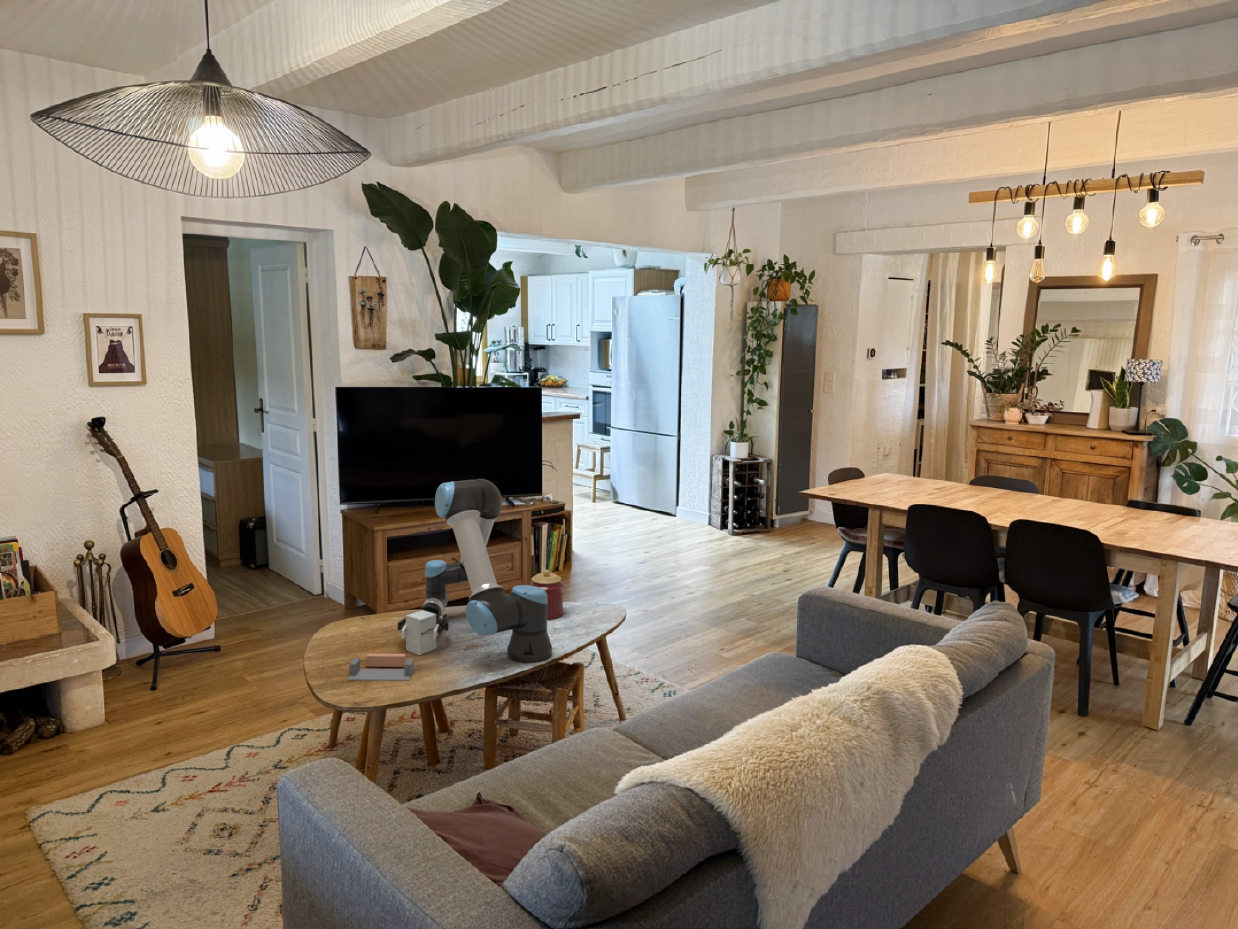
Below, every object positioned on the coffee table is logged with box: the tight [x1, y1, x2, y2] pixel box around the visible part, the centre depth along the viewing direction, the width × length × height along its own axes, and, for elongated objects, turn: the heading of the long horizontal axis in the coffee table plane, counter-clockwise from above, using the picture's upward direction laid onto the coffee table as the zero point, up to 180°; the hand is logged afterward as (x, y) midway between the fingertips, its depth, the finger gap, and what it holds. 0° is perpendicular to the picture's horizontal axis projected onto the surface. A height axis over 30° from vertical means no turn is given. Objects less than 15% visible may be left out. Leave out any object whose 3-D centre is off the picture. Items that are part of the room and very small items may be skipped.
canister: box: [529, 569, 564, 620], centre depth 320 cm, size 13×13×18 cm
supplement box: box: [405, 610, 437, 656], centre depth 284 cm, size 7×7×13 cm
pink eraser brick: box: [365, 653, 407, 668], centre depth 270 cm, size 2×12×4 cm, turn 92°
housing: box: [346, 657, 415, 681], centre depth 264 cm, size 8×19×4 cm, turn 92°
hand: (418, 635), depth 279 cm, fingers closed on supplement box, 10 cm apart
